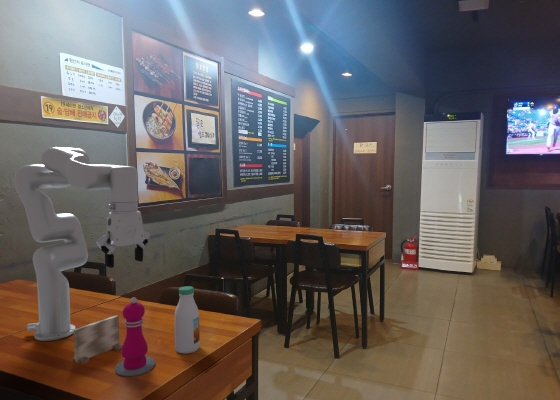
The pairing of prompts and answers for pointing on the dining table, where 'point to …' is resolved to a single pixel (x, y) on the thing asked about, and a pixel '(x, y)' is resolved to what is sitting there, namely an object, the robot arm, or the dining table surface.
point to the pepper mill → (134, 336)
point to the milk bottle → (186, 322)
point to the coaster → (125, 372)
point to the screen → (96, 339)
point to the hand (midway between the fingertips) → (124, 263)
